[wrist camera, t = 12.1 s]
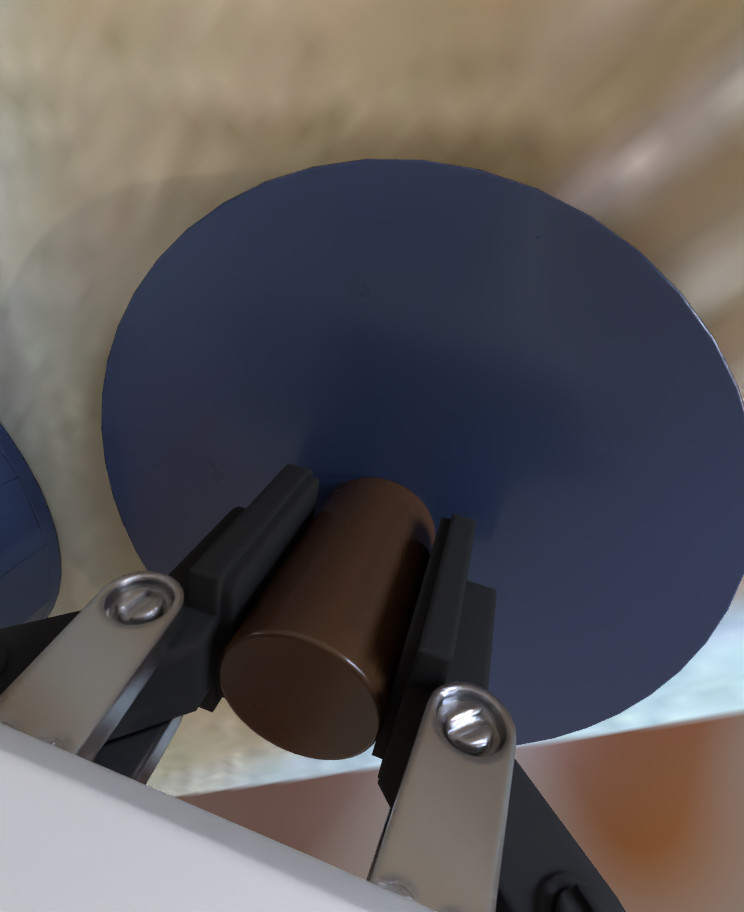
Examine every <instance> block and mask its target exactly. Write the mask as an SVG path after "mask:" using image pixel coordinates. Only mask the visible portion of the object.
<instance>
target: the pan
mask: <svg viewBox="0 0 744 912" xmlns="http://www.w3.org/2000/svg"><path fill="white" fill-rule="evenodd" d="M60 580H61V558H60V551H59V545H58V540H57V535H56V531H55V528H54V525H53V521H52V518H51V515H50V511H49V509H48V507H47V504H46V502H45V500H44V497H43V495H42V492H41V490H40V488H39V486H38V484H37V482H36V480H35V478H34V476H33V474H32V472H31V470H30V469H29V467H28V465H27V463H26V461H25V459H24V458H23V456H22V455H21V453H20V452H19V450H18V449H17V447H16V446H15V444H14V442H13V441H12V439H11V438H10V436H9V435H8V433H7V432H6V431H5V429H4V428H3V427H2V425H1V424H0V629H1V628H6V627H10V626H15V625H19V624H24V623H28V622H33V621H37V620H42V619H46V618H47V617H48V615H49V614H50V612H51V611H52V609H53V607H54V605H55V602H56V599H57V596H58V593H59V587H60Z"/></svg>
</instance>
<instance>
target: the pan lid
mask: <svg viewBox="0 0 744 912" xmlns="http://www.w3.org/2000/svg"><path fill="white" fill-rule="evenodd" d="M101 429H102V438H103V447H104V457H105V464H106V468H107V472H108V477H109V481H110V485H111V490H112V494H113V497H114V500H115V502H116V505H117V508H118V511H119V514H120V517H121V519H122V522H123V525H124V527H125V529H126V531H127V533H128V535H129V538H130V540H131V542H132V544H133V546H134V548H135V550H136V552H137V554H138V556H139V557H140V559H141V561H142V562H143V564H144V566H145V567H146V569H147V571H152V572H159V573H164V574H166V575H169V573H170V572H171V571H172V570H173V569H174V568H175V567H176V566H177V565H178V564H179V563H180V562H181V561H182V560H183V559H184V558H185V557H186V556H187V555H188V554H189V553H190V552H191V551H192V550H193V549H194V548H195V547H196V546H197V545H198V544H199V543H200V542H201V541H202V540H203V539H204V538H205V537H206V536H207V534H208V533H209V532H210V531H211V530H212V529H213V528H214V527H215V526H216V525H217V524H218V523H219V522H220V521H221V520H222V519H223V518H224V517H225V516H226V515H227V514H228V513H229V512H230V511H231V510H232V509H233V508H235V507H238V506H240V507H243V508H247V507H248V506H249V505H250V503H251V502H252V501H253V500H254V499H255V498H256V497H257V496H258V495H259V494H260V493H261V492H262V491H263V490H264V488H265V487H266V486H267V485H268V484H269V483H270V482H271V481H272V480H273V479H274V478H275V477H276V476H277V475H278V473H279V472H280V471H281V470H282V469H283V468H284V467H285V466H286V465H287V464H293V465H296V466H299V467H303V468H306V469H309V470H312V472H313V477H314V478H317V479H319V487H318V494H317V500H316V507H315V514H314V519H313V520H312V522H311V523H310V525H309V526H308V527H307V529H306V530H305V532H304V533H303V535H302V536H301V538H300V539H299V541H298V542H297V543H296V545H295V546H294V548H293V549H292V551H291V552H290V554H289V555H288V557H287V558H286V559H285V561H284V562H283V564H282V565H281V567H280V568H279V570H278V571H277V573H276V574H275V575H274V577H273V578H272V580H271V581H270V583H269V584H268V586H267V587H266V589H265V590H264V591H263V593H262V594H261V596H260V597H259V599H258V600H257V602H256V603H255V605H254V606H253V607H252V609H251V610H250V612H249V613H248V615H247V616H246V618H245V619H244V621H243V622H242V623H241V625H240V626H239V628H238V629H237V631H236V632H235V634H234V635H233V637H232V638H231V639H230V641H229V642H228V644H227V645H226V647H225V648H224V650H223V652H222V654H221V656H220V661H219V667H218V677H219V683H220V686H221V690H222V692H223V694H224V697H225V699H226V700H227V702H228V704H229V705H230V707H231V708H232V710H233V711H234V712H235V714H236V715H237V716H238V717H239V718H240V719H241V720H242V721H243V722H244V723H245V724H246V725H247V726H248V727H249V728H250V729H252V730H253V731H254V732H255V733H257V734H258V735H259V736H261V737H262V738H264V739H265V740H267V741H269V742H271V743H272V744H274V745H276V746H278V747H280V748H282V749H284V750H287V751H289V752H292V753H294V754H298V755H301V756H304V757H309V758H314V759H322V760H340V759H346V758H351V757H354V756H357V755H359V754H361V753H363V752H365V751H366V750H367V749H369V748H370V747H371V746H372V745H373V744H374V743H375V741H376V740H377V739H378V738H379V736H380V734H381V732H382V729H383V726H384V722H385V719H386V715H387V711H388V708H389V696H390V693H391V689H392V686H393V682H394V679H395V675H396V672H397V668H398V665H399V661H400V658H401V654H402V651H403V647H404V644H405V640H406V637H407V634H408V630H409V627H410V623H411V620H412V616H413V613H414V609H415V606H416V602H417V599H418V595H419V592H420V588H421V585H422V581H423V578H424V575H425V571H426V568H427V564H428V561H429V557H430V554H431V550H432V547H433V544H434V540H435V537H436V534H437V530H438V527H439V523H440V520H441V517H445V518H448V519H451V517H452V514H453V513H454V514H457V515H461V516H464V517H467V518H470V519H474V520H477V523H476V529H475V535H474V541H473V547H472V553H471V558H470V564H469V570H468V576H467V580H468V581H471V582H475V583H478V584H481V585H484V586H487V587H490V588H493V589H496V592H497V593H496V607H495V618H494V629H493V641H492V652H491V663H490V674H489V685H488V691H490V692H491V693H493V694H494V695H495V696H496V697H497V698H498V699H499V700H500V701H501V702H502V703H503V704H504V706H505V707H506V708H507V710H508V711H509V713H510V714H511V717H512V719H513V722H514V725H515V727H516V745H521V744H526V743H531V742H537V741H542V740H547V739H552V738H556V737H559V736H562V735H566V734H569V733H572V732H575V731H579V730H582V729H585V728H588V727H590V726H592V725H595V724H597V723H599V722H601V721H604V720H606V719H608V718H611V717H613V716H615V715H617V714H620V713H621V712H623V711H625V710H626V709H628V708H630V707H631V706H633V705H635V704H636V703H638V702H640V701H641V700H643V699H644V698H646V697H648V696H649V695H651V694H652V693H654V692H655V691H656V690H657V689H658V688H660V687H661V686H662V685H663V684H665V683H666V682H667V681H668V680H670V679H671V678H672V677H673V676H675V675H676V674H677V673H678V672H680V671H681V669H682V668H683V667H684V666H685V665H686V664H687V663H688V662H689V661H690V660H691V659H692V658H693V656H694V655H695V654H696V653H697V652H698V651H699V650H700V649H701V648H702V647H703V646H704V645H705V643H706V642H707V641H708V639H709V638H710V636H711V635H712V633H713V632H714V630H715V629H716V627H717V626H718V624H719V623H720V621H721V620H722V618H723V617H724V615H725V614H726V612H727V611H728V609H729V606H730V604H731V602H732V600H733V597H734V595H735V593H736V591H737V588H738V586H739V584H740V582H741V579H742V577H743V575H744V404H743V400H742V397H741V394H740V390H739V387H738V385H737V383H736V381H735V379H734V377H733V375H732V373H731V371H730V369H729V367H728V365H727V363H726V361H725V359H724V357H723V355H722V353H721V351H720V349H719V347H718V345H717V343H716V340H715V339H714V337H713V336H712V334H711V333H710V332H709V330H708V329H707V327H706V326H705V325H704V323H703V322H702V321H701V319H700V318H699V316H698V315H697V314H696V312H695V311H694V310H693V308H692V307H691V305H690V304H689V303H688V301H687V300H686V298H685V297H684V296H683V294H682V293H681V292H680V291H679V290H678V289H677V288H676V287H675V286H674V285H673V284H672V283H671V282H670V281H669V280H668V279H667V278H666V277H665V276H664V275H663V274H662V273H661V272H660V271H659V270H658V269H657V268H656V267H655V266H654V265H653V264H652V263H651V262H650V261H649V260H648V259H647V258H646V257H645V256H644V255H643V254H642V253H641V252H640V251H639V250H637V249H636V248H634V247H633V246H632V245H630V244H629V243H628V242H626V241H625V240H623V239H622V238H621V237H619V236H618V235H617V234H615V233H614V232H612V231H611V230H610V229H608V228H607V227H605V226H604V225H603V224H601V223H600V222H599V221H597V220H596V219H594V218H593V217H592V216H590V215H588V214H586V213H584V212H582V211H580V210H578V209H576V208H574V207H572V206H570V205H568V204H566V203H565V202H563V201H561V200H559V199H557V198H555V197H553V196H551V195H549V194H547V193H545V192H543V191H541V190H539V189H537V188H534V187H531V186H528V185H525V184H522V183H519V182H516V181H513V180H510V179H507V178H504V177H501V176H498V175H495V174H492V173H489V172H486V171H483V170H480V169H474V168H468V167H462V166H456V165H450V164H444V163H438V162H433V161H427V160H402V159H363V160H356V161H349V162H342V163H335V164H328V165H321V166H314V167H310V168H307V169H304V170H301V171H298V172H294V173H291V174H288V175H285V176H282V177H278V178H275V179H272V180H269V181H266V182H264V183H262V184H260V185H258V186H256V187H254V188H252V189H250V190H248V191H246V192H244V193H242V194H240V195H238V196H236V197H234V198H232V199H230V200H228V201H226V202H224V203H222V204H221V205H219V206H218V207H217V208H215V209H214V210H213V211H211V212H210V213H208V214H207V215H206V216H204V217H203V218H202V219H200V220H199V221H197V222H196V223H195V224H193V225H192V226H191V227H189V228H188V229H187V230H186V231H185V232H184V233H183V234H182V235H181V236H180V237H179V238H178V239H177V240H176V241H175V242H174V243H173V244H172V245H171V246H170V247H169V248H168V249H167V250H166V251H165V252H164V253H163V254H162V255H161V256H160V257H159V258H158V260H157V261H156V262H155V264H154V265H153V267H152V268H151V269H150V271H149V272H148V274H147V275H146V277H145V278H144V279H143V281H142V282H141V284H140V285H139V286H138V288H137V289H136V291H135V292H134V294H133V296H132V299H131V301H130V303H129V305H128V307H127V309H126V311H125V313H124V315H123V317H122V319H121V321H120V323H119V325H118V328H117V331H116V335H115V338H114V341H113V344H112V347H111V351H110V354H109V357H108V361H107V367H106V373H105V380H104V386H103V392H102V427H101Z"/></svg>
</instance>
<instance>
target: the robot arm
mask: <svg viewBox="0 0 744 912" xmlns="http://www.w3.org/2000/svg"><path fill="white" fill-rule="evenodd" d="M318 487H319V479H317V478H314V477H313V472H312V470H309V469H306V468H303V467H299V466H296V465H293V464H287V465H286V466H285V467H284V468H283V469H282V470H281V471H280V472H279V473H278V475H277V476H276V477H275V478H274V479H273V480H272V481H271V482H270V483H269V484H268V485H267V486H266V487H265V488H264V490H263V491H262V492H261V493H260V494H259V495H258V496H257V497H256V498H255V499H254V500H253V501H252V502H251V503H250V505H249V506H248V507H247V508H243V507H240V506H238V507H235V508H233V509H232V510H231V511H230V512H229V513H228V514H227V515H226V516H225V517H224V518H223V519H222V520H221V521H220V522H219V523H218V524H217V525H216V526H215V527H214V528H213V529H212V530H211V531H210V532H209V533H208V534H207V536H206V537H205V538H204V539H203V540H202V541H201V542H200V543H199V544H198V545H197V546H196V547H195V548H194V549H193V550H192V551H191V552H190V553H189V554H188V555H187V556H186V557H185V558H184V559H183V560H182V561H181V562H180V563H179V564H178V565H177V566H176V567H175V568H174V569H173V570H172V571H171V572H170V573H169V575H166V574H164V573H159V572H152V571H145V572H135V573H131V574H127V575H124V576H122V577H120V578H117V579H115V580H113V581H112V582H110V583H109V584H108V585H107V586H105V587H104V588H103V589H102V590H101V591H100V592H99V593H98V594H97V595H96V596H95V597H94V598H93V599H92V600H91V601H90V602H89V603H88V604H87V605H86V606H85V607H84V609H83V610H82V611H77V612H73V613H68V614H64V615H59V616H55V617H51V618H46V619H42V620H37V621H33V622H28V623H24V624H19V625H15V626H10V627H6V628H1V629H0V912H626V911H625V910H624V908H623V907H622V905H621V903H620V901H619V900H618V898H617V897H616V895H615V894H614V893H613V892H612V890H611V888H610V887H609V886H608V884H607V883H606V882H605V880H604V879H603V878H602V876H601V875H600V874H599V872H598V871H597V869H596V868H595V867H594V865H593V864H592V863H591V861H590V860H589V859H588V858H587V856H586V855H585V853H584V852H583V850H582V849H581V848H580V846H579V845H578V844H577V842H576V841H575V840H574V838H573V837H572V836H571V834H570V833H569V831H568V830H567V829H566V827H565V826H564V825H563V823H562V822H561V821H560V819H559V818H558V817H557V815H556V814H555V813H554V811H553V810H552V808H551V807H550V806H549V804H548V803H547V802H546V800H545V799H544V798H543V796H542V795H541V794H540V792H539V791H538V789H537V788H536V787H535V785H534V784H533V783H532V781H531V780H530V779H529V777H528V776H527V775H526V773H525V772H524V771H523V769H522V768H521V766H520V765H519V764H518V763H517V761H516V760H515V758H514V755H515V748H516V727H515V725H514V722H513V719H512V717H511V714H510V713H509V711H508V710H507V708H506V707H505V706H504V704H503V703H502V702H501V701H500V700H499V699H498V698H497V697H496V696H495V695H494V694H493V693H491V692H490V691H488V685H489V674H490V663H491V652H492V641H493V629H494V618H495V607H496V593H497V592H496V589H493V588H490V587H487V586H484V585H481V584H478V583H475V582H471V581H468V580H467V576H468V570H469V564H470V558H471V553H472V547H473V541H474V535H475V529H476V523H477V520H474V519H470V518H467V517H464V516H461V515H457V514H454V513H453V514H452V517H451V519H448V518H445V517H441V520H440V523H439V527H438V530H437V534H436V537H435V540H434V544H433V547H432V550H431V554H430V557H429V561H428V564H427V568H426V571H425V575H424V578H423V581H422V585H421V588H420V592H419V595H418V599H417V602H416V606H415V609H414V613H413V616H412V620H411V623H410V627H409V630H408V634H407V637H406V640H405V644H404V647H403V651H402V654H401V658H400V661H399V665H398V668H397V672H396V675H395V679H394V682H393V686H392V689H391V693H390V696H389V708H388V711H387V715H386V719H385V722H384V726H383V729H382V732H381V734H380V736H379V738H378V739H377V740H376V742H375V746H374V749H373V753H372V755H373V756H376V757H378V758H381V759H382V763H381V767H380V770H379V774H378V778H379V780H378V785H379V786H380V788H381V790H382V792H383V794H384V796H385V798H386V800H387V802H388V804H389V806H390V809H389V812H388V815H387V818H386V821H385V824H384V827H383V830H382V833H381V836H380V840H379V843H378V846H377V849H376V852H375V855H374V858H373V861H372V864H371V867H370V870H369V873H368V877H367V880H364V879H362V878H360V877H357V876H355V875H353V874H350V873H348V872H346V871H344V870H341V869H339V868H337V867H334V866H332V865H329V864H327V863H325V862H323V861H321V860H318V859H316V858H314V857H311V856H309V855H307V854H305V853H302V852H300V851H298V850H295V849H293V848H291V847H288V846H286V845H284V844H282V843H279V842H277V841H275V840H272V839H270V838H268V837H265V836H263V835H261V834H259V833H256V832H254V831H252V830H249V829H247V828H245V827H242V826H240V825H237V824H235V823H233V822H231V821H228V820H226V819H224V818H221V817H219V816H217V815H215V814H212V813H210V812H208V811H205V810H203V809H201V808H198V807H196V806H194V805H191V804H189V803H186V802H184V801H182V800H180V799H177V798H175V797H173V796H170V795H168V794H166V793H163V792H161V791H159V790H156V789H154V788H152V787H149V786H147V785H146V783H147V781H148V780H149V778H150V776H151V774H152V773H153V771H154V769H155V767H156V766H157V764H158V762H159V760H160V759H161V757H162V755H163V753H164V752H165V750H166V748H167V746H168V744H169V743H170V741H171V739H172V737H173V736H174V734H175V732H176V730H177V729H178V727H179V725H180V723H181V720H182V717H183V715H185V714H188V713H191V712H194V711H196V710H197V708H198V707H200V708H203V709H205V710H208V711H210V712H213V711H214V709H215V708H216V706H217V705H218V703H219V701H220V700H221V698H222V697H224V694H223V692H222V690H221V686H220V683H219V677H218V667H219V661H220V656H221V654H222V652H223V650H224V648H225V647H226V645H227V644H228V642H229V641H230V639H231V638H232V637H233V635H234V634H235V632H236V631H237V629H238V628H239V626H240V625H241V623H242V622H243V621H244V619H245V618H246V616H247V615H248V613H249V612H250V610H251V609H252V607H253V606H254V605H255V603H256V602H257V600H258V599H259V597H260V596H261V594H262V593H263V591H264V590H265V589H266V587H267V586H268V584H269V583H270V581H271V580H272V578H273V577H274V575H275V574H276V573H277V571H278V570H279V568H280V567H281V565H282V564H283V562H284V561H285V559H286V558H287V557H288V555H289V554H290V552H291V551H292V549H293V548H294V546H295V545H296V543H297V542H298V541H299V539H300V538H301V536H302V535H303V533H304V532H305V530H306V529H307V527H308V526H309V525H310V523H311V522H312V520H313V519H314V514H315V507H316V500H317V494H318ZM224 698H225V697H224Z"/></svg>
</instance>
